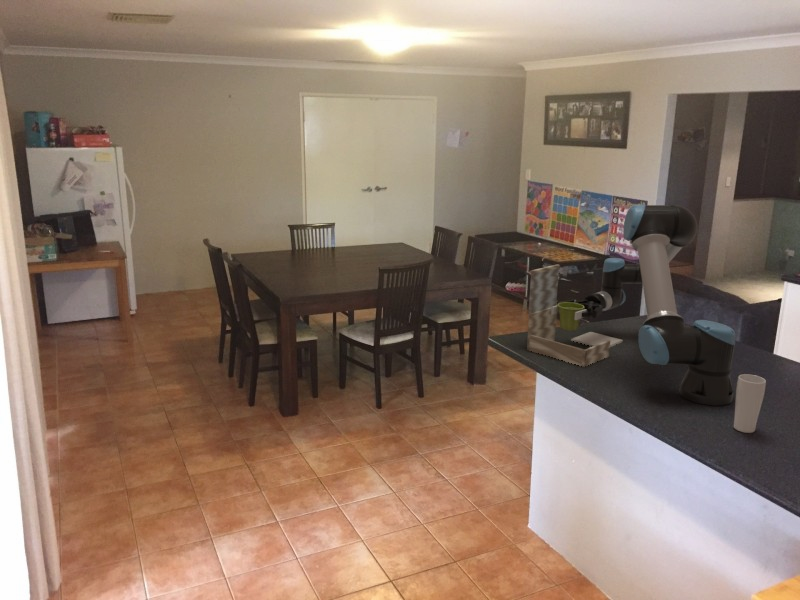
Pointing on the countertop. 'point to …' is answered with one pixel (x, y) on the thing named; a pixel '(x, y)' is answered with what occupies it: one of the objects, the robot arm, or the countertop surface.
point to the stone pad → (595, 339)
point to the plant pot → (569, 315)
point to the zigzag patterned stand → (554, 322)
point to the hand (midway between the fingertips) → (563, 313)
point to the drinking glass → (748, 402)
